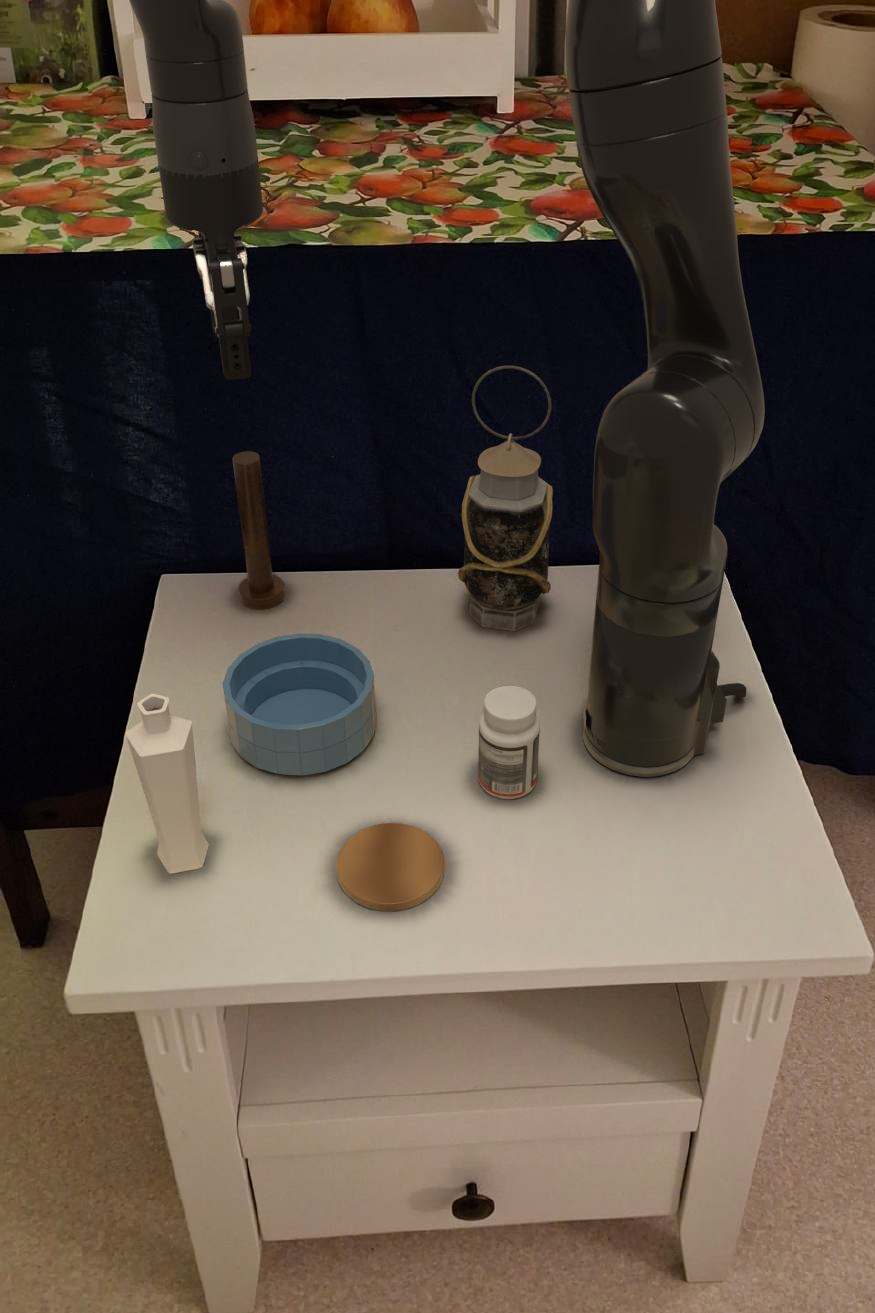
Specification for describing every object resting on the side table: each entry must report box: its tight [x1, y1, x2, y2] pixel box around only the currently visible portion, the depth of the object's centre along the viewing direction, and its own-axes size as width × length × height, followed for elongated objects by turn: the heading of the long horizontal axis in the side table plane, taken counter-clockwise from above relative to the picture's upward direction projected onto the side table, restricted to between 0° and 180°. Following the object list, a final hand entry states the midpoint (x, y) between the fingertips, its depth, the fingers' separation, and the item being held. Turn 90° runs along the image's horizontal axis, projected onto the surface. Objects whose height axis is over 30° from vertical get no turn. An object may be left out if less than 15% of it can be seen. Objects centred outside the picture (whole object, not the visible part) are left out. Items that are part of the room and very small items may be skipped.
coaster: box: [335, 822, 446, 912], centre depth 90 cm, size 8×8×1 cm
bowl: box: [222, 632, 377, 776], centre depth 101 cm, size 12×12×6 cm
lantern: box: [457, 365, 554, 632], centre depth 108 cm, size 9×8×25 cm
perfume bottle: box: [124, 693, 210, 874], centre depth 87 cm, size 5×4×15 cm
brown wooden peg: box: [232, 450, 286, 610], centre depth 113 cm, size 4×4×15 cm
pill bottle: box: [477, 685, 541, 800], centre depth 95 cm, size 5×5×8 cm
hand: (232, 355), depth 102 cm, fingers open, 8 cm apart
